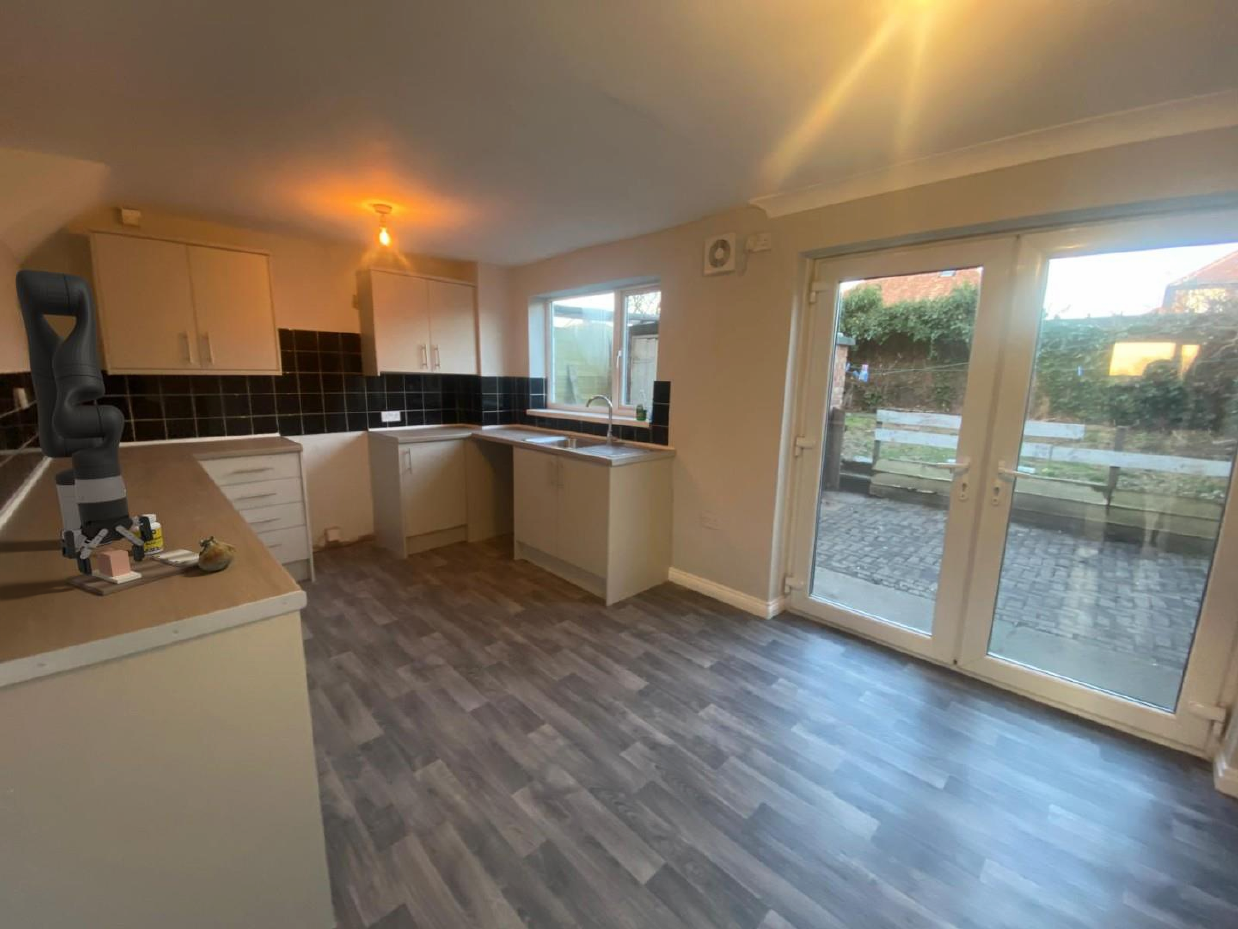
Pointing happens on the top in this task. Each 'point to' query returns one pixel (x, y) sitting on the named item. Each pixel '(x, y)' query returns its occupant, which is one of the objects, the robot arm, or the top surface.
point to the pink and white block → (114, 566)
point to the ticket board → (142, 572)
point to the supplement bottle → (157, 541)
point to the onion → (215, 554)
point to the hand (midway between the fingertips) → (113, 567)
